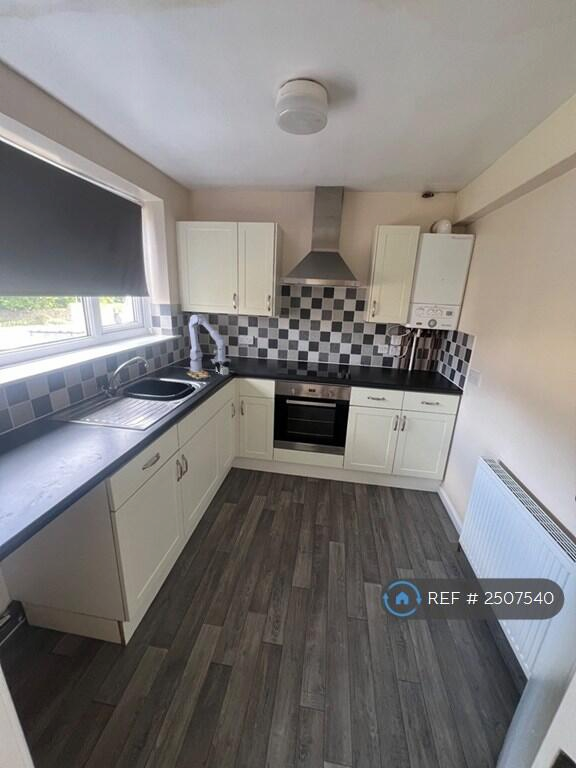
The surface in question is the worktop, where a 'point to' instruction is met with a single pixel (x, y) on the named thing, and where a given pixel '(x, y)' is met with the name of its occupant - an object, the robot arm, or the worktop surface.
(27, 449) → the worktop surface
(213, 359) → the toy figure
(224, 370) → the block
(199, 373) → the cradle jig
